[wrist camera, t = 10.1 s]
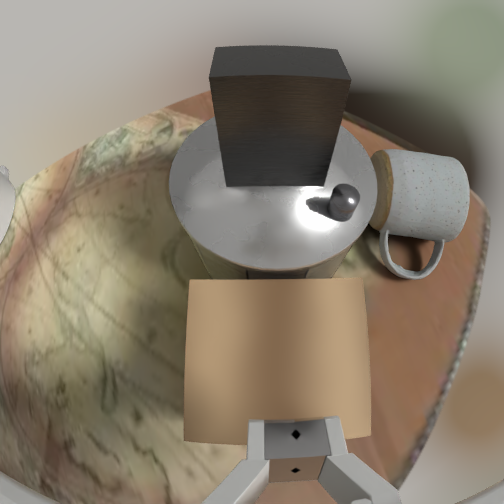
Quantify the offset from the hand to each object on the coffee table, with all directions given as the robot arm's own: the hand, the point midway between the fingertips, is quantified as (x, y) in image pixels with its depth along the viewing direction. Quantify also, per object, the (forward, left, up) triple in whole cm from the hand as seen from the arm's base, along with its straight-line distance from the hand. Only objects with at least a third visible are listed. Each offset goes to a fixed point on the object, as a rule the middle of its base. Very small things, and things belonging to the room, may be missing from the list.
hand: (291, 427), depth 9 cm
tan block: (0, +3, -13) cm, 13 cm away
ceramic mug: (+13, +14, -13) cm, 23 cm away
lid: (0, +14, -5) cm, 15 cm away
